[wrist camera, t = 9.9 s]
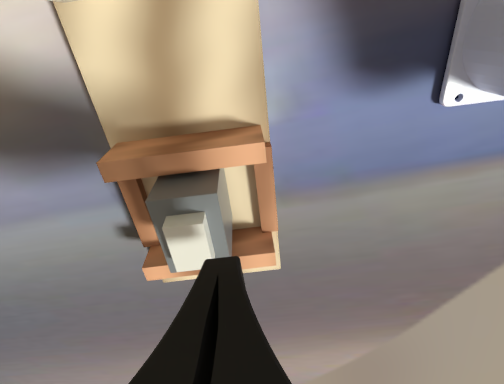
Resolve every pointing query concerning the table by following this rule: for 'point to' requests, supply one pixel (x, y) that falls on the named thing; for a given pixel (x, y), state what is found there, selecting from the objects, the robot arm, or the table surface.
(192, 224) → the plug
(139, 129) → the wooden board with blocks
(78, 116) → the table surface
